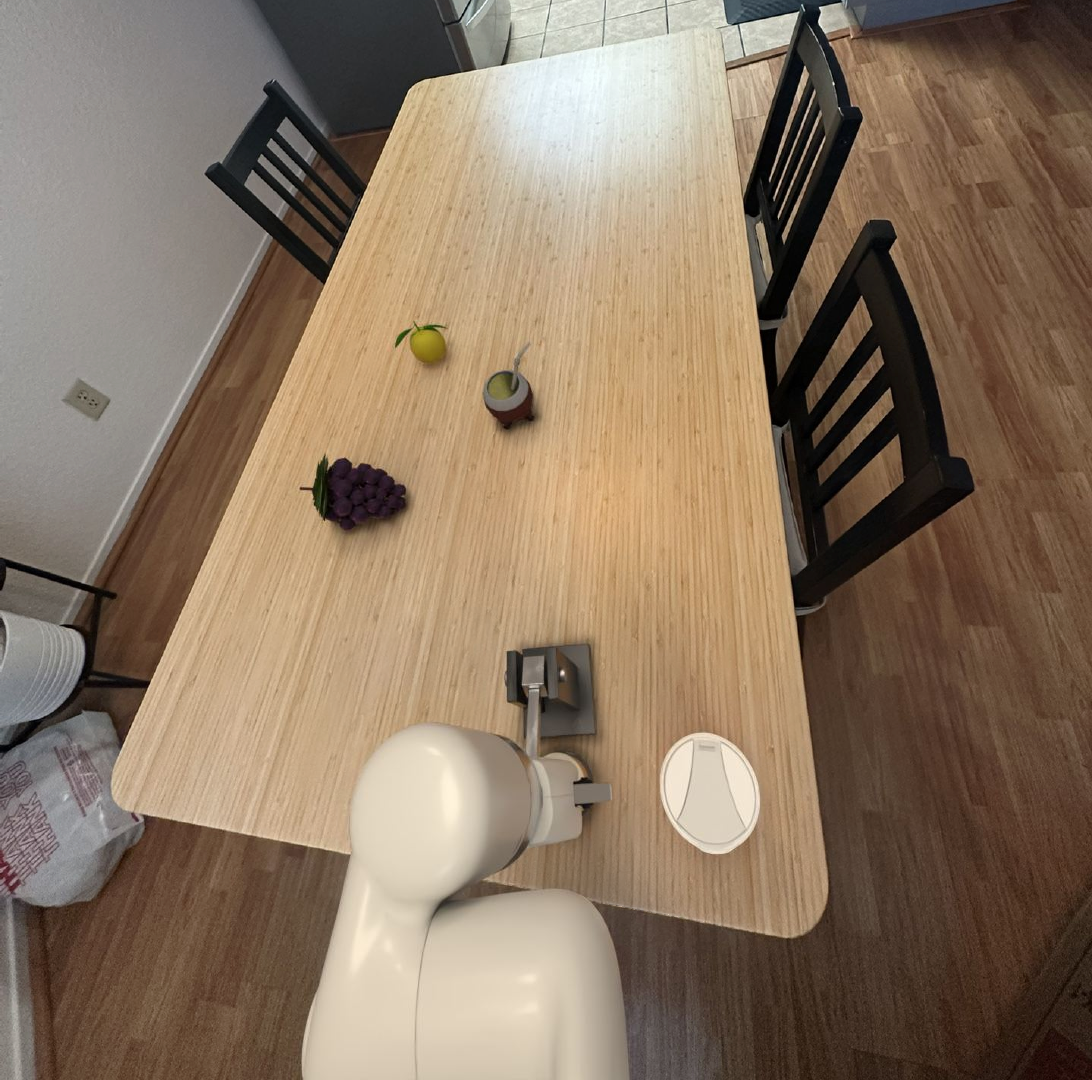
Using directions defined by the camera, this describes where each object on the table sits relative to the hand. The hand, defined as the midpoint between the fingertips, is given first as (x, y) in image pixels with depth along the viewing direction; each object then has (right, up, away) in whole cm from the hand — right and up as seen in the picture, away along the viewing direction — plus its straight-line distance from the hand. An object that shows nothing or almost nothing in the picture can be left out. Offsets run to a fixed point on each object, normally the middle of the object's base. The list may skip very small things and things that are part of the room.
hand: (537, 794), depth 54 cm
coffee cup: (+17, -6, +9) cm, 20 cm away
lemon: (-17, +38, +47) cm, 63 cm away
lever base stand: (+2, 0, +16) cm, 17 cm away
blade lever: (0, +4, +3) cm, 5 cm away
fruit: (-25, +17, +35) cm, 46 cm away
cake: (+3, -7, +11) cm, 14 cm away
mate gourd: (-3, +30, +39) cm, 49 cm away
